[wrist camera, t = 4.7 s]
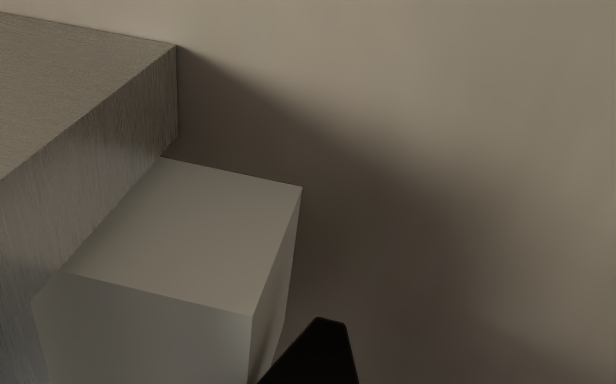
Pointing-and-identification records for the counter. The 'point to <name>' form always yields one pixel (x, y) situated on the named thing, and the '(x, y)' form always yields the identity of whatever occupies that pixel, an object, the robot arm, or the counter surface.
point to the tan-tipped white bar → (175, 283)
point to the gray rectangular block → (68, 155)
